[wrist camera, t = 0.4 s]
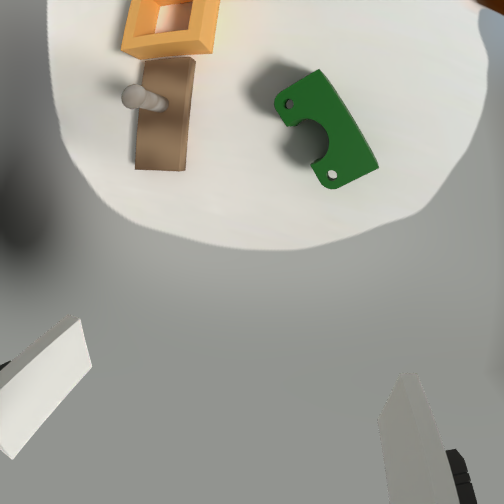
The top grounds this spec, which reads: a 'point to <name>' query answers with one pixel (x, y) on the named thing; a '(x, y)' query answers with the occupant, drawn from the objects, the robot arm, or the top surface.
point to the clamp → (328, 129)
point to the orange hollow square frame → (169, 43)
